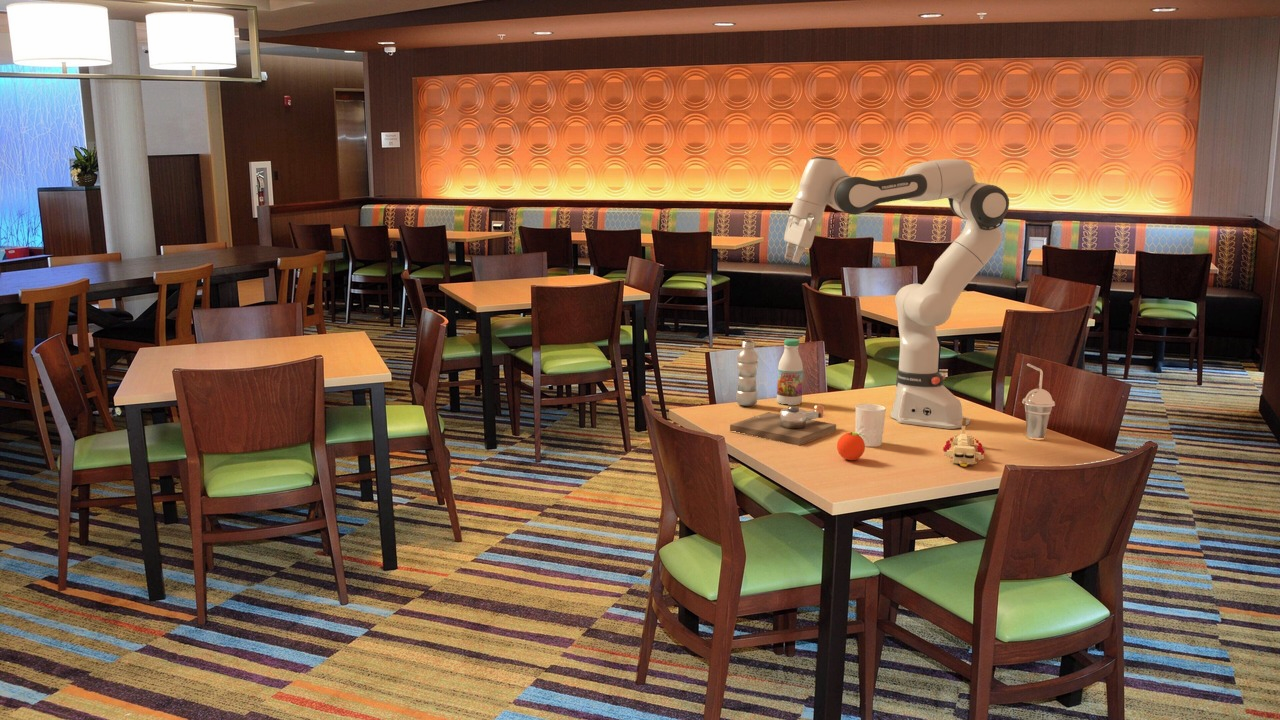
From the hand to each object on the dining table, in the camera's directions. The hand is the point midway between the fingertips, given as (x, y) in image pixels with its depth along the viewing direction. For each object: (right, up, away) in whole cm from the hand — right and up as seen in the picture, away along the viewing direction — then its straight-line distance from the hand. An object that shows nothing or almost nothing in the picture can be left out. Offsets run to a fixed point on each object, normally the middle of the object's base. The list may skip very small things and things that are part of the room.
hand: (791, 260), depth 295 cm
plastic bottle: (-10, -42, +27) cm, 51 cm away
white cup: (+18, -50, -15) cm, 56 cm away
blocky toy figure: (+40, -53, -26) cm, 71 cm away
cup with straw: (+66, -50, -7) cm, 83 cm away
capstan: (+3, -45, -3) cm, 46 cm away
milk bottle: (+4, -42, +31) cm, 52 cm away
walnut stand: (-3, -48, -4) cm, 48 cm away
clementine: (+11, -53, -31) cm, 63 cm away
